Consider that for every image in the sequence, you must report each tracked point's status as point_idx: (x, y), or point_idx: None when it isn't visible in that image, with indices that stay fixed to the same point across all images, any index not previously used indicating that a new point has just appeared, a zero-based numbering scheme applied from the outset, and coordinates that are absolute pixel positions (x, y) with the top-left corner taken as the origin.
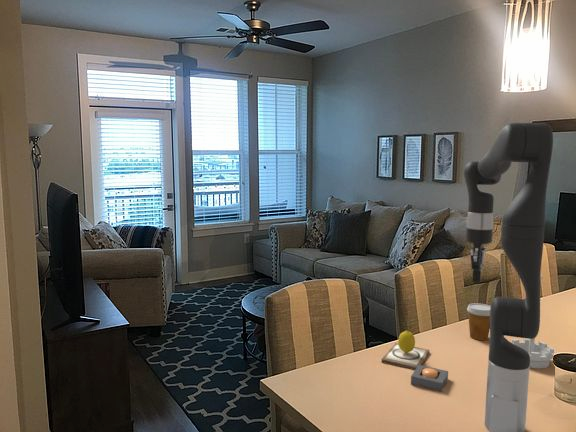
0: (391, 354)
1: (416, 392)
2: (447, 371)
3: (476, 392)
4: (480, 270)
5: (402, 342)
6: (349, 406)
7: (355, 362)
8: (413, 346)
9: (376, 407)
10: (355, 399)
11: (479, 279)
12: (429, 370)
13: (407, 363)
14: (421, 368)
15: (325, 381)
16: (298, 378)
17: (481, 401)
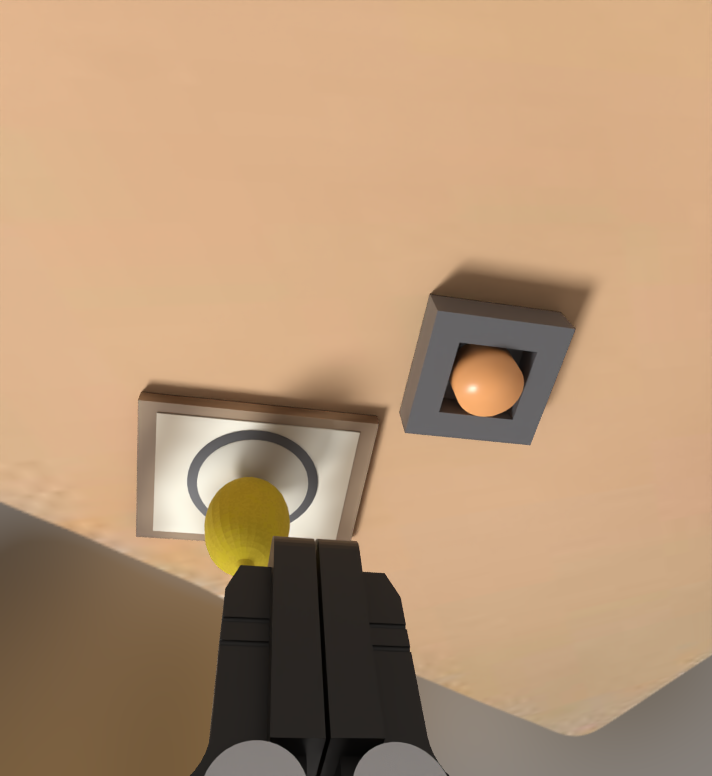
0: None
1: (585, 398)
2: (443, 314)
3: (541, 163)
4: (440, 772)
5: None
6: (707, 552)
7: None
8: (264, 488)
9: (709, 492)
10: (662, 549)
11: (361, 587)
12: (478, 390)
13: (355, 464)
14: (442, 418)
15: (556, 636)
16: (551, 690)
17: (628, 143)
